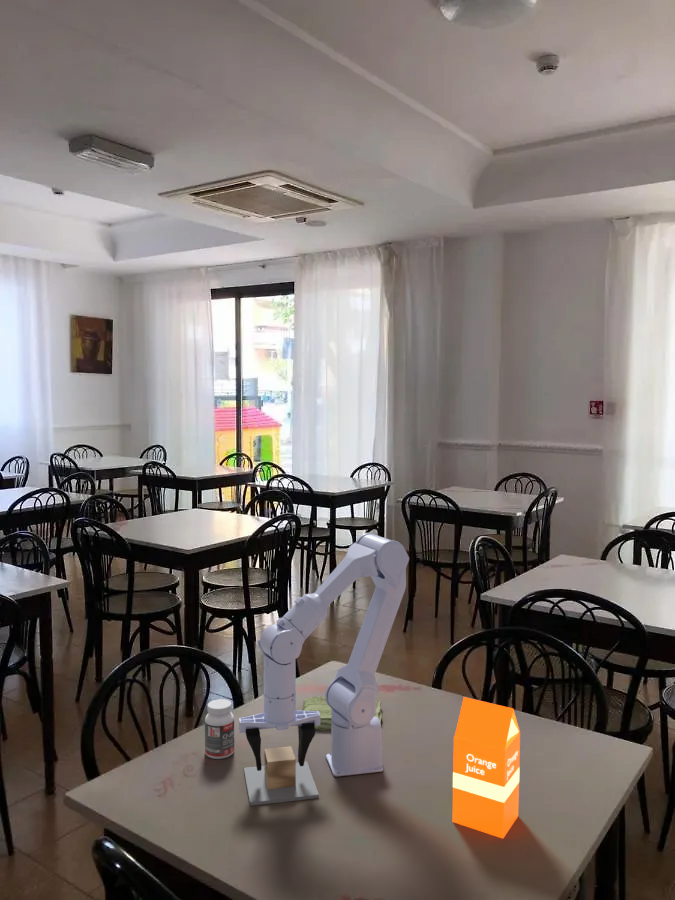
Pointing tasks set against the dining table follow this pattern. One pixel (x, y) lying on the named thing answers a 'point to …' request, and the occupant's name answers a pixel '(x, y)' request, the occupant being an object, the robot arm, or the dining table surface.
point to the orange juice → (486, 767)
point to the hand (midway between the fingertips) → (280, 765)
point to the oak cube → (279, 767)
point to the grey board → (263, 795)
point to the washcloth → (328, 711)
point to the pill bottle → (219, 729)
